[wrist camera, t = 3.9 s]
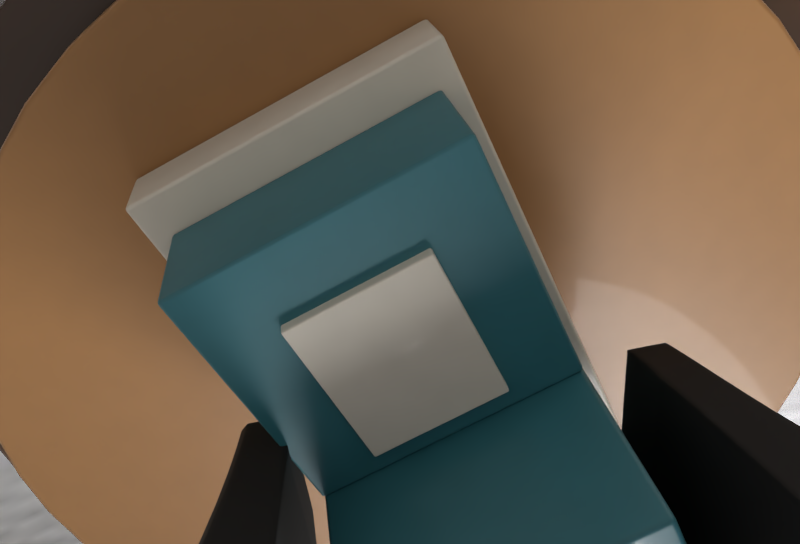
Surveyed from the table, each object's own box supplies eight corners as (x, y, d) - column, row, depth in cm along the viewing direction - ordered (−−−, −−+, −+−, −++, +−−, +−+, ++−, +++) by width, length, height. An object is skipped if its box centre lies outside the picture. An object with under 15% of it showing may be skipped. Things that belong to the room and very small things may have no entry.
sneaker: (846, 404, 17) (1128, 671, 11) (288, 664, 18) (300, 1011, 13) (705, -362, 9) (1386, -685, 4) (-246, 200, 10) (-795, 577, 5)
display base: (877, 316, 18) (927, 355, 16) (331, 637, 21) (336, 692, 19) (585, -508, 9) (639, -568, 8) (-270, 227, 12) (-336, 273, 11)
